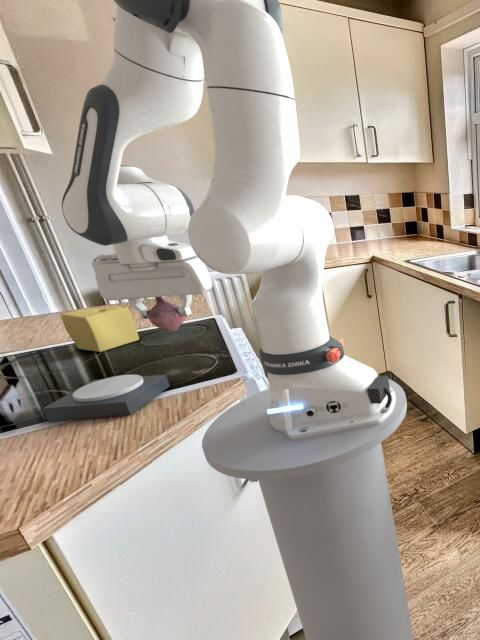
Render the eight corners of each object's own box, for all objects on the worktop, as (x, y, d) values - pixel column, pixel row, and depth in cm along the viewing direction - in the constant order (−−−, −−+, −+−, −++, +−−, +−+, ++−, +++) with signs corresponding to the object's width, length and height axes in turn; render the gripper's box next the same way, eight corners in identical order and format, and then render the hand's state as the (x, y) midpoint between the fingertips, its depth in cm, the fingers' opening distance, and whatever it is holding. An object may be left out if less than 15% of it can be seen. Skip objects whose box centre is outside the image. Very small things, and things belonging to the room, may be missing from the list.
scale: (170, 386, 91) (164, 371, 89) (130, 414, 80) (123, 398, 78) (98, 391, 89) (92, 376, 88) (48, 421, 78) (39, 404, 77)
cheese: (118, 336, 123) (105, 303, 119) (142, 340, 119) (130, 306, 116) (74, 349, 114) (58, 314, 110) (99, 353, 110) (84, 317, 107)
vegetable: (148, 335, 91) (131, 290, 87) (179, 326, 96) (164, 283, 93) (165, 338, 89) (149, 292, 85) (195, 329, 94) (181, 285, 90)
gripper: (76, 258, 82) (103, 325, 87) (188, 251, 84) (209, 316, 89) (101, 253, 88) (125, 316, 93) (205, 246, 90) (224, 308, 95)
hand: (167, 316), depth 91 cm, fingers closed on vegetable, 6 cm apart
